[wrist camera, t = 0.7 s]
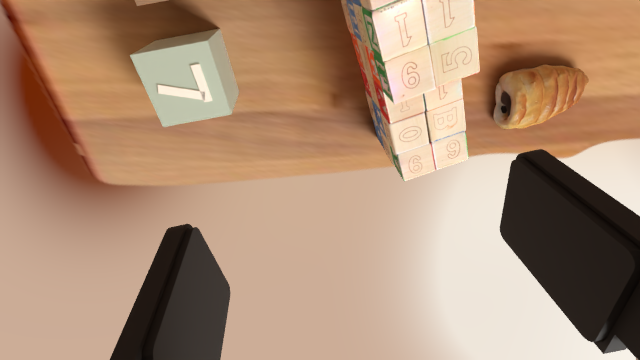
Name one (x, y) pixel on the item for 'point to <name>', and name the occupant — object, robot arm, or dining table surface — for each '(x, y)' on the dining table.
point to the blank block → (146, 2)
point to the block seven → (188, 77)
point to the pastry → (536, 94)
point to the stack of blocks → (416, 76)
